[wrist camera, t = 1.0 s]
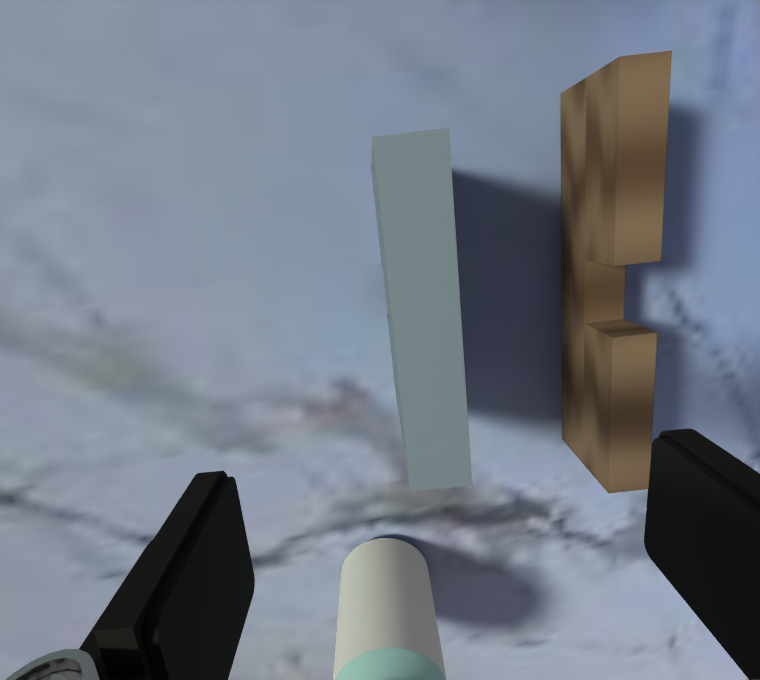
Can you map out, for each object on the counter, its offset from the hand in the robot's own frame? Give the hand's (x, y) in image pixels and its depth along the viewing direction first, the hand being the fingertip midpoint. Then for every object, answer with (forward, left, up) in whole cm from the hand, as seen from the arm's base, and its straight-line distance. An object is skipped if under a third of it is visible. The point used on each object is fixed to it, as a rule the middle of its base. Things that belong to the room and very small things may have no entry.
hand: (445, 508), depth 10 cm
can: (+22, -3, -23) cm, 32 cm away
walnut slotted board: (0, +13, -23) cm, 26 cm away
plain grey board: (-1, +1, -23) cm, 23 cm away
